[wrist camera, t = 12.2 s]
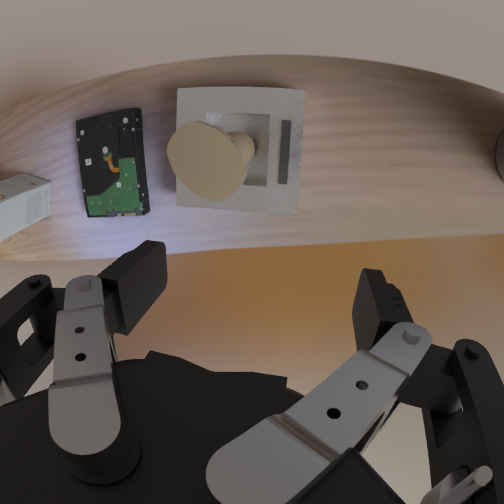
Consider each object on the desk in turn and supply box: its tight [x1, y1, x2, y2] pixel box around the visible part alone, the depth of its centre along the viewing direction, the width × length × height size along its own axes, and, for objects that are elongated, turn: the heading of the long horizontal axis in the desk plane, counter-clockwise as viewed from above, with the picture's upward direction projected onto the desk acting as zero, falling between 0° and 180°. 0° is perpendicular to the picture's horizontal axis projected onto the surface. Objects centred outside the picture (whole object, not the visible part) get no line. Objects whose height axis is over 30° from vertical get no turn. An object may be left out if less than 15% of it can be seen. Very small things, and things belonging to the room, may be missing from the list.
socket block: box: [176, 87, 305, 216], centre depth 35 cm, size 14×14×5 cm
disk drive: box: [76, 108, 150, 218], centre depth 39 cm, size 10×3×15 cm
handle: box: [166, 121, 255, 202], centre depth 29 cm, size 5×6×15 cm
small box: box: [0, 173, 51, 242], centre depth 38 cm, size 8×6×13 cm
